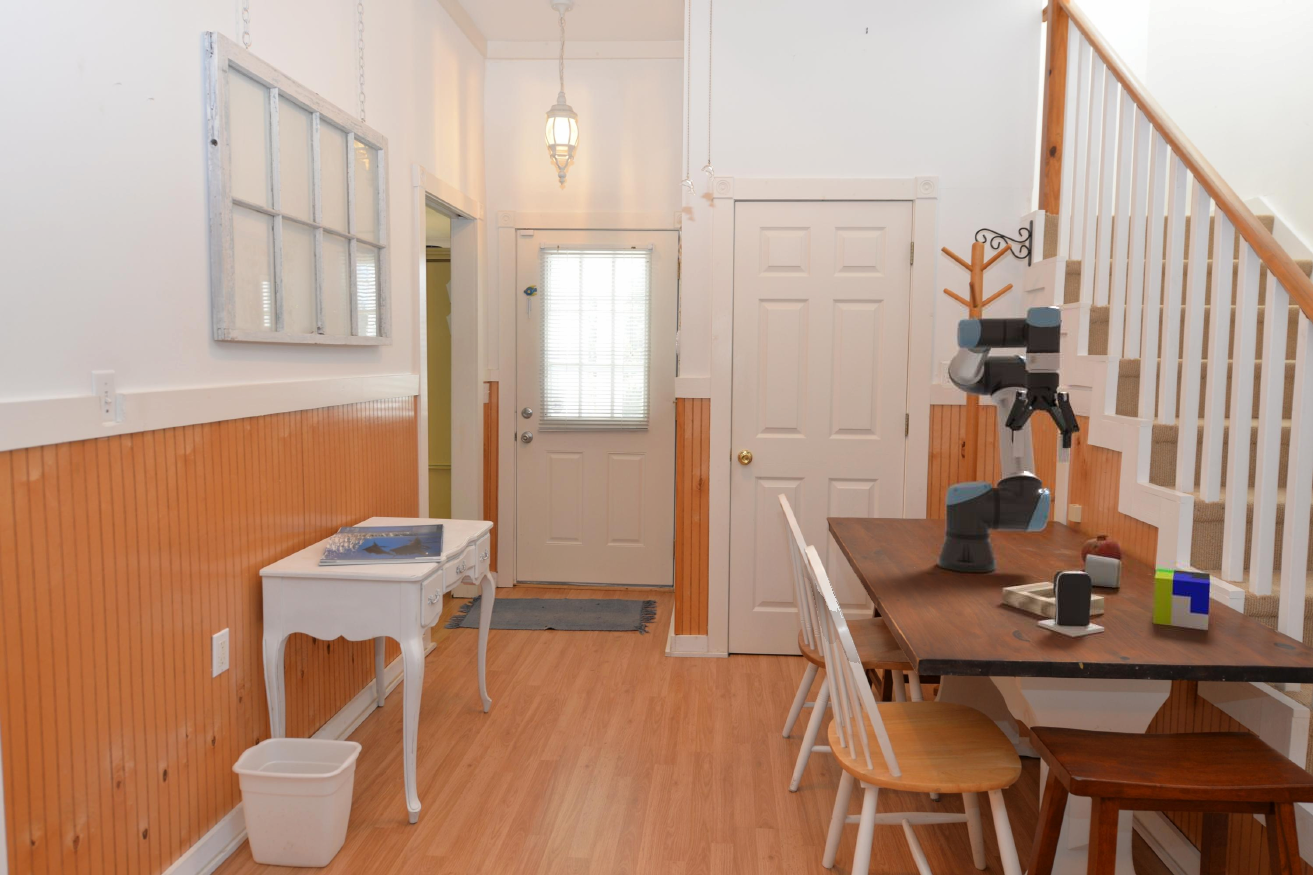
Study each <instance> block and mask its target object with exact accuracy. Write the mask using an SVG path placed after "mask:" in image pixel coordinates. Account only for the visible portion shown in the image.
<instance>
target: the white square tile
mask: <svg viewBox="0 0 1313 875" xmlns="http://www.w3.org/2000/svg"><path fill="white" fill-rule="evenodd" d="M1037 626H1039V627H1042V628H1045V629H1049V630H1052V631H1054V632H1057V633H1061V634H1062V635H1067V636H1069V637H1073V638H1074V637H1079V636H1080V637H1081V636H1085V635H1090V634H1096V633H1101V632H1105V627H1103V626H1100V625H1097V624H1095V623H1091V622H1090V625H1086V626H1064V625H1057V624H1056V623H1055V619H1051V618H1049V619H1045V620H1039V621H1037Z"/></svg>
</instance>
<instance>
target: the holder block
mask: <svg viewBox="0 0 1313 875" xmlns="http://www.w3.org/2000/svg"><path fill="white" fill-rule="evenodd" d="M1053 586H1054V582H1053V583H1052V582H1048V581H1044V582H1036V583H1031V584H1030V583H1029V584H1023V585H1017V586H1008V587H1002V603H1003V604H1005V605H1009V606H1011V607H1013V608H1017V609H1020V610H1024V611H1027V612H1029V613H1033V614H1036V615H1039V616H1042V617H1045V618H1047V619H1048V618H1049V619H1055V613H1056V601H1055V594H1053ZM1105 600H1106V598H1105V596H1104V597H1102V596H1099V595H1095V594H1092V593H1091V604H1090V616H1093V615H1100V614H1104V613H1105Z"/></svg>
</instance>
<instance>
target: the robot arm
mask: <svg viewBox="0 0 1313 875" xmlns="http://www.w3.org/2000/svg"><path fill="white" fill-rule="evenodd" d="M1061 312H1062V310H1061V308H1060V307H1058V306H1034V307H1029V308H1028V310H1027V311H1026V317H1005V318H1004V317H1001V318H999V317H998V318H997V317H996V318H992V317H991V318H975V317H973V318H964V319H960V321H959V322H958V323H957V331H956V338H957V340H956V341H957V346H958V347H959V349H958V351H957V354H956V355H955V356H954V357H952V359H951V360H950V362H949V365H948V368H947V371H948V372H947V373H948V378H949V380H950V381H951V383H952V384H953V385H954V386H955V387H956V388H958V389H959V390H960V391H962V392H964V393H966V394H969V395H973V396H989V397H990V402H991V403H992V404H993V405H994V406H996V411H997V412H996V413H997V425H998V426H997V428H998V440H999V441H998V442H999V454H1000V455H999V456H1000V466H1001V467H1000V468H1001V478H1000V479H999V480H998V481H997V483H996V487H993V486H992V484H991V482H988V481H967V482H962V483H961V482H960V483H955V484H953V485H950V486H949V487H948V488H947V490H946V494H945V502H944V504H945V525H944V526H945V527H944V528H945V531H944V533H945V534H944V535H945V537H944V540H943V543H942V547H941V550H940V553H939V555H938V558H937V562H938V563H937V566H938V567H940V568H942V569H945V570H949V571H954V572H960V573H961V572H962V573H988V572H992V571H995V570H996V569H997V559H996V557H995V555H994V551H993V546H992V543H991V535H990V534H991V531H1008V532H1009V531H1013V532H1015V531H1016V532H1026V533H1028V532H1040V531H1042V530H1044V529H1045V528H1046V526H1047V523H1048V520H1049V516H1050V512H1051V502H1052V501H1051V500H1052V499H1051V498H1052V497H1051V496H1052V495H1051V490H1050V489H1049V488H1047V487H1044V486H1043V482H1042V479H1040V478H1039V477H1037V476H1036V468H1035V456H1034V447H1033V437H1032V436H1033V435H1032V425H1031V416H1032V415H1033V414H1034V412H1036V411H1045V412H1046V413H1047V414H1049V416H1050V418H1052V420H1053V422H1054V423H1055V425H1056V427H1057V429H1058V430H1059V431H1060V433H1059V434H1058V437H1057V440H1058V441H1057V463H1069V456H1070V449H1071V448H1072V437H1073V436H1072V435H1073V434H1075V433H1079V432H1080V430H1081V429H1080V426H1079V423H1078V421H1077V418H1076V415H1075V412H1074V410H1073V407H1072V405H1071V402H1070V395H1069V392H1068V391H1064V392H1063V391H1062V392H1060V391H1059V392H1058V390H1057V389H1058V388H1059V387H1060V373H1059V372H1058V371H1059V370H1060V368H1061V367H1060V365H1061V350H1060V349H1061V332H1062V331H1061V330H1062V327H1061V326H1062V316H1061V315H1062V313H1061ZM1016 348H1017V349H1018V348H1019V349H1021V348H1022V349H1025V355H1019V354H1014V355H989V353H991V349H1016Z"/></svg>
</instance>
